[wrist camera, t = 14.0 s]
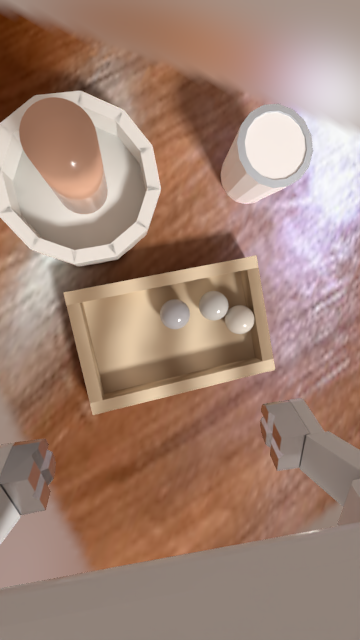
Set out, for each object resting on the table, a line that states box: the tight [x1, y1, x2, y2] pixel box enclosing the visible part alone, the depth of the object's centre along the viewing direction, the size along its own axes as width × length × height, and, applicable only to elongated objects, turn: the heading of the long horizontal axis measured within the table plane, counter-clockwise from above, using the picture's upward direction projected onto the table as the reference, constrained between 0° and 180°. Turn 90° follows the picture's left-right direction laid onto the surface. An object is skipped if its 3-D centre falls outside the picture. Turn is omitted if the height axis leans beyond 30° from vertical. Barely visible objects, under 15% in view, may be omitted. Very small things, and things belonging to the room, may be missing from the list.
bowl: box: [0, 91, 161, 266], centre depth 29 cm, size 14×14×3 cm
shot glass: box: [220, 104, 313, 204], centre depth 29 cm, size 7×7×7 cm
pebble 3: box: [225, 305, 254, 334], centre depth 31 cm, size 3×3×3 cm
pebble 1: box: [160, 299, 190, 329], centre depth 30 cm, size 3×3×3 cm
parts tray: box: [64, 256, 275, 415], centre depth 31 cm, size 19×12×3 cm, turn 100°
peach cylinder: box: [19, 97, 108, 214], centre depth 25 cm, size 5×5×10 cm
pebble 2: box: [199, 291, 229, 321], centre depth 31 cm, size 3×3×3 cm
